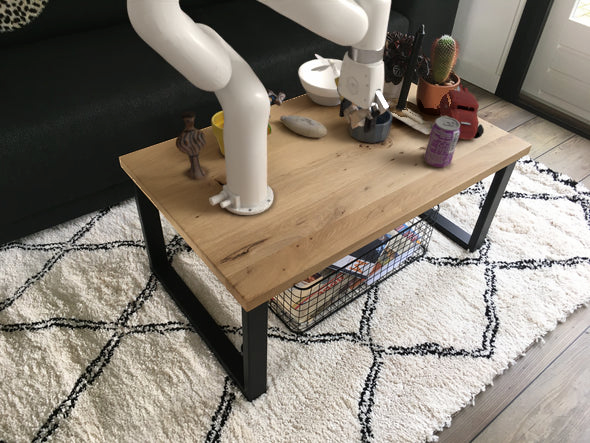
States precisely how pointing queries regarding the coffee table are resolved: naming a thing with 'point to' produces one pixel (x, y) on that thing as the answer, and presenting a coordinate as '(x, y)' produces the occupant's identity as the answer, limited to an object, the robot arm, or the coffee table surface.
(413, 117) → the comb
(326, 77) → the bowl
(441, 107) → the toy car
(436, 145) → the beverage can
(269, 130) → the pirate figurine
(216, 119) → the flower pot
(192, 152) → the brown ridged tall piece
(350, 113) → the toy character
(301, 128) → the decorative stone
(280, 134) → the coffee table surface
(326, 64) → the fairy figurine
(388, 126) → the dark blue cup
